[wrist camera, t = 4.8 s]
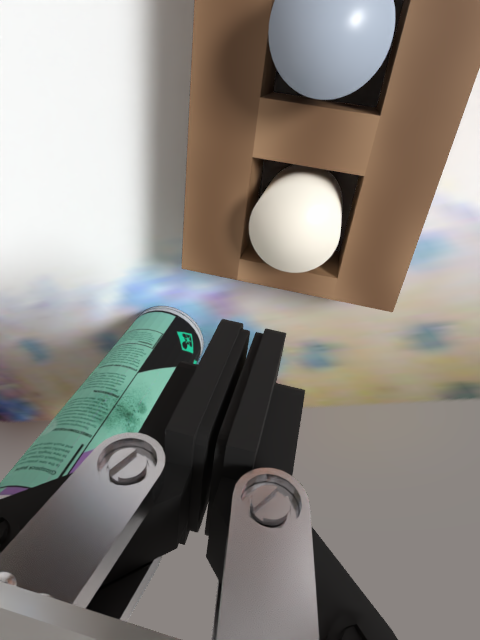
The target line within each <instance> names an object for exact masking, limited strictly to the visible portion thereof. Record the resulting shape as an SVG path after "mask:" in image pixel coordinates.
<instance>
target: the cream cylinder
mask: <svg viewBox="0 0 480 640" xmlns="http://www.w3.org/2000/svg"><path fill="white" fill-rule="evenodd" d="M342 205H343V198H342V192H341V188H340V186H339V184H338V182H337V180H336V179H335V177H334V176H333V175H332V174H331V173H330V172H329V171H327V170H325V169H319V168H313V167H308V166H302V165H296V164H294V165H291V166H289V167H286V168H285V169H283V170H282V171H280V172H279V173H278V174H277V175H276V176H275V177H274V178H273V180H272V181H271V183H270V184H269V186H268V187H267V189H266V190H265V192H264V193H263V195H262V196H261V198H260V199H259V201H258V202H257V204H256V205H255V207H254V209H253V211H252V213H251V216H250V221H249V235H250V240H251V243H252V245H253V247H254V249H255V251H256V252H257V254H258V255H259V256H260V258H261V259H262V260H264V261H265V262H266V263H267V264H269V265H270V266H272V267H274V268H276V269H278V270H281V271H284V272H290V273H300V272H306V271H310V270H312V269H315V268H317V267H319V266H320V265H322V264H323V263H325V262H326V261H327V260H328V259H329V258H330V257H331V255H332V254H333V253H334V251H335V249H336V247H337V245H338V242H339V239H340V233H341V219H342Z"/></svg>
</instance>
